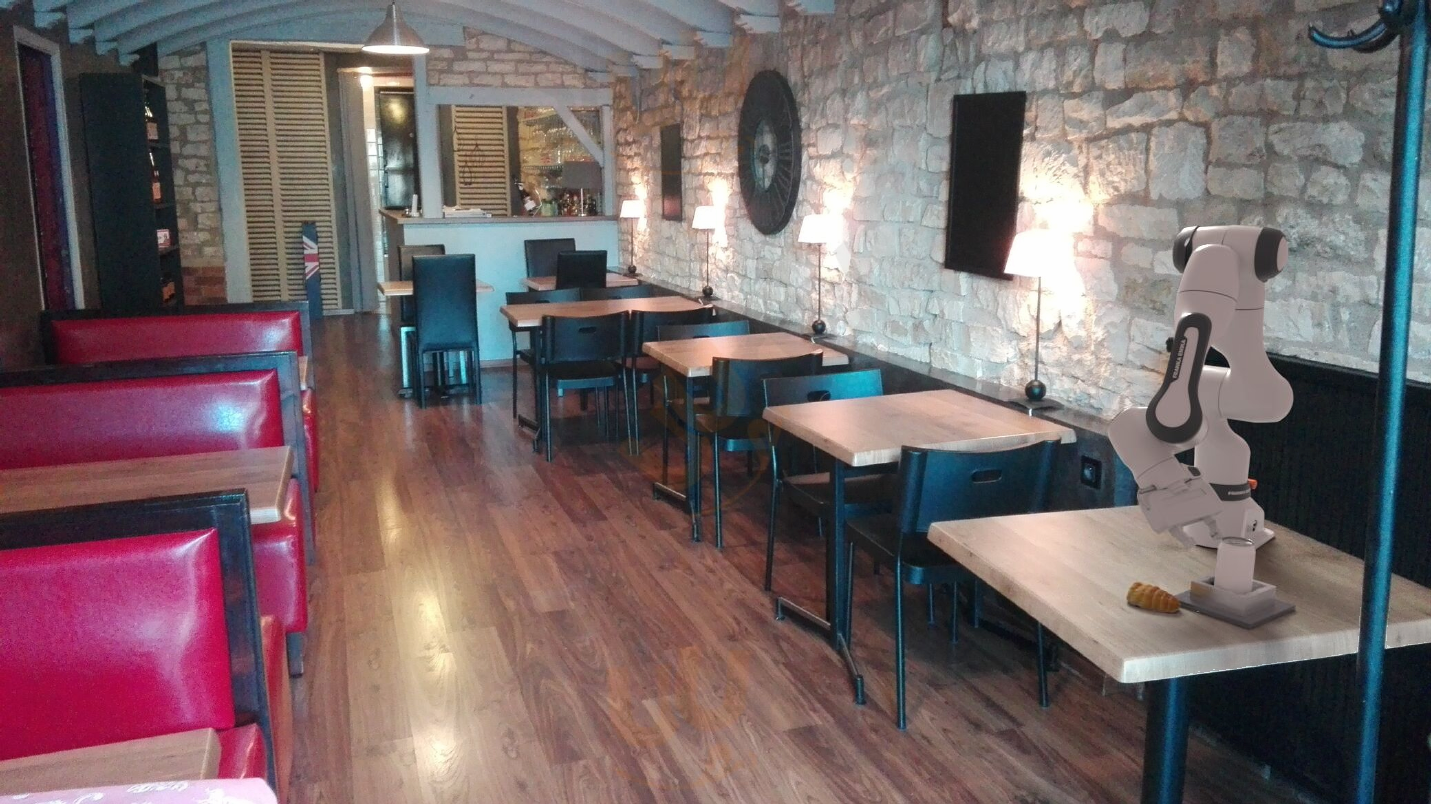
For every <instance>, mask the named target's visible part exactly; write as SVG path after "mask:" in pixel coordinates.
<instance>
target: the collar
mask: <svg viewBox="0 0 1431 804" xmlns="http://www.w3.org/2000/svg"><path fill="white" fill-rule="evenodd" d="M1214 581H1215V572H1212V573H1210V574H1207V575H1204V576H1202V577H1199V578H1196V579H1193V580H1191V581H1190V588H1189V589H1188V590H1185V591H1182V592H1180V593H1177V594H1175V595H1174V594H1173V596H1174V597H1175V598H1177V599H1178V600H1179V601H1180V603H1181V606H1180V607H1182V608H1184V607H1185V609H1187V608H1188V610H1190V609H1192V610H1191V611H1193V610H1194V612H1196V611H1199V612H1201V613H1200V614H1202V613H1204V614H1203V615H1205V614H1206V616H1208V615H1209V616H1208V617H1211V616H1212V618H1214V619H1217V620H1220V621H1223V622H1226V623H1229V624H1232V625H1235V626H1238V627H1242V628H1244V629H1247V630H1252V629H1255V628H1257V627H1259V626H1261V624H1262V625H1263V624H1266V623H1268V622H1270V620H1271V621H1273V620H1276V619H1277V618H1280V617H1282V615H1283V616H1284V614H1285V613H1287V614H1289V613H1288V612H1290V611H1292V612H1294V611H1295V610H1296V605H1295V604H1292V603H1289V602H1286V601H1283V600H1280V599H1277V598H1276V595H1277V586H1276V585H1273V584H1271V583H1268V582H1267V583H1266V582H1263V581H1261V580H1260V581H1259V580H1257V579H1254V578H1253V583H1252V592H1250V593H1247V594H1245V595H1241V594H1238V593H1235V592H1232V591H1229V590H1225V589H1222V588H1219V587H1216V586H1214ZM1293 610H1294V611H1293ZM1199 612H1198V613H1199ZM1290 613H1291V612H1290ZM1285 615H1286V614H1285ZM1275 618H1276V619H1275Z"/></svg>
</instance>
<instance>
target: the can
mask: <svg viewBox="0 0 1431 804" xmlns="http://www.w3.org/2000/svg"><path fill="white" fill-rule="evenodd" d="M1221 540H1222V541H1221V543H1220V544H1219V546H1218V548H1217V554H1216V563H1215V572H1214V573H1215V581H1214V586H1216V587H1219V588H1222V589H1225V590H1229V591H1232V592H1235V593H1238V594H1241V595H1245V594H1247V593H1250V592H1252V583H1253V579H1254V573H1255V565H1256V564H1255V563H1256V550H1255V548H1254V542H1253V541H1251V540H1249V539H1246V538H1242V537H1235V536H1227V537H1223V538H1222V539H1221Z"/></svg>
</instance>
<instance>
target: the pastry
mask: <svg viewBox="0 0 1431 804" xmlns="http://www.w3.org/2000/svg"><path fill="white" fill-rule="evenodd" d="M1126 601H1127V602H1128V603H1130V605H1132V606H1138V607H1139V608H1141V609H1145V610H1149V609H1150V611H1153V610H1155V611H1154V612H1158V611H1160V612H1159V613H1166V614H1167V613H1171V614H1173V613H1175V612H1178V611H1179V610H1180V608H1181V607H1182V606H1181V603H1180V601H1179V600H1178V599H1177V598H1175V597H1174V594H1172V593H1169V592H1168V591H1167V590H1164V589H1162V588H1160V586H1157V585H1154V586H1153V585H1152V584H1149V583H1147V584H1144V583H1142V582H1141V581H1140V582H1139V581H1134V582H1133V583H1132V585H1131V586H1130V587H1129V588H1128V592H1127V594H1126Z"/></svg>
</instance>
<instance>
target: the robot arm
mask: <svg viewBox="0 0 1431 804" xmlns="http://www.w3.org/2000/svg"><path fill="white" fill-rule="evenodd" d="M1171 251H1172V253H1171V254H1172V264H1173V267H1174V269H1176V270H1177V271H1178V273H1179V274H1182V277H1181V280H1180V284H1179V287H1178V291H1177V295H1176V301H1175V307H1174V318H1173V319H1174V320H1173V323H1174V324H1173V342H1172V346H1171V351H1170V354H1169V359H1168V363H1167V366H1166V367H1167V368H1166V371H1165V375H1164V378H1163V382H1162V383H1161V386H1160V388H1159V389H1158V391H1157V392H1156V393H1155V395H1153V397H1152V398H1151V400H1150V401H1149V403H1148V405H1147V406H1134V405H1133V406H1129V407H1127V408H1125V409H1122V410H1121V411H1120V412H1119V413H1117V414H1116V415H1115V416H1114V418H1112V419H1111V421H1110V423H1109V424H1108V428H1107V436H1108V439H1109V441H1110V443H1111V445H1112V446H1113V449H1114V451H1115V452H1116V454H1117V455H1118V457H1119V458H1120V460H1121V461H1122V463H1123V464H1124V466H1126V467H1127V468H1128V469H1129V470H1130V471H1131V473H1132V475H1133V477H1134V481H1135V483H1136V484H1137V485H1138V487H1139V489H1138V490H1137V494H1136V495H1137V496H1136V499H1137V500H1138V502H1139V508H1140V510H1141V512H1142V514H1143V517H1144V518H1145V520H1146V522H1147V523H1148V525H1149V527H1150V529H1151V530H1152V531H1153V532H1155V533H1156V534H1157V535H1161V534H1164V533H1168V532H1169V533H1170V535H1171V537H1173V538H1174V539H1176V540H1177V541H1178V542H1180V543H1181V544H1182V545H1183V547H1184V548H1185V550H1190V549H1193V548H1195V547H1196V546H1197V545H1198V546H1201V547H1202V546H1203V547H1208V548H1213V549H1218V546H1219V544H1220V543H1221V541H1222V540H1221V539H1222V538H1223V537H1227V536H1235V537H1242V538H1246V539H1249V540H1251V541H1253V542H1254V548H1255V551H1256V550H1257V549H1258V548H1260V547H1262V546H1263V545H1264V544H1266V543H1267V542H1269V541H1270V540H1271V539H1273V538H1274V537H1275V532H1274V531H1273V530H1271V529H1269V528H1266V527H1264V525H1265V511H1264V510H1263V508H1262V507H1261V506H1260V505H1258V503H1257V502H1256V501H1255V500H1254V499H1253V498H1252V497H1251V496H1252V495H1251V494H1252V493H1251V490H1252V489H1253V490H1255V489H1256V487H1258V486H1257V485H1258V482H1257V480H1256V479H1250V478H1248V477H1249V470H1250V469H1249V468H1250V462H1251V461H1250V460H1251V459H1250V458H1251V450H1250V446H1249V445H1248V443H1247V441H1245V439H1244V438H1243V437H1241V436H1240V435H1238V434H1237V433H1235V432H1234V431H1233V430H1232V428H1231V427H1230V425H1229V422H1228V419H1229V420H1230V419H1231V420H1235V421H1236V420H1237V421H1242V422H1243V421H1244V422H1249V423H1277V422H1279V421H1281V420H1282V419H1284V418H1285V417H1286V416H1287V415H1288V414H1289V413H1290V411H1291V409H1292V407H1293V403H1294V392H1293V388H1292V387H1291V384H1290V382H1289V381H1288V380H1287V379H1286V378H1285V377H1283V376H1282V375H1281V374H1280V373H1279V371H1277V370H1276V369H1275V367H1274V366H1273V364H1272V363H1271V361H1270V359H1269V358H1268V355H1267V352H1266V348H1265V345H1264V314H1265V313H1264V312H1265V302H1266V285H1265V283H1267V282H1268V281H1269V280H1270V279H1273V278H1274V279H1275V277H1277V276H1279V274H1280V273H1282V271H1283V270H1284V267H1285V265H1286V263H1287V261H1288V258H1289V246H1288V241H1287V237H1286V235H1285V234H1284V233H1283V231H1282V230H1280V229H1278V228H1275V227H1268V226H1264V227H1258V226H1252V225H1251V226H1250V225H1241V224H1231V225H1211V226H1201V225H1192V226H1188V227H1185V228H1183V229H1182V230H1181V231H1180V232H1179V233H1177V235H1176V237H1175V239H1174V242H1173V245H1172V249H1171ZM1211 347H1212V349H1215V350H1216V351H1217V352H1219V353H1221V354H1222V356H1224V357H1225V359H1226V360H1227V362H1228V365H1229V367H1223V366H1213V365H1207V364H1205V362H1206V359H1207V355H1208V352H1209V350H1210V348H1211ZM1193 448H1194V465H1189V464H1185V463H1183V462H1179V460H1178V459H1177V457H1176V456H1175V455H1177V454H1179V453H1182V452H1185V451H1188V450H1190V449H1193Z"/></svg>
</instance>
